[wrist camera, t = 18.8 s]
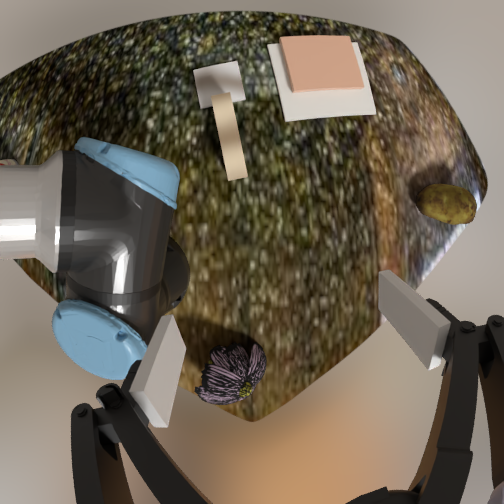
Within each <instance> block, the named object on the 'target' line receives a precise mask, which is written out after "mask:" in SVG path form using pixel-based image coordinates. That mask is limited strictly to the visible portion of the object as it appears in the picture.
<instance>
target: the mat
mask: <svg viewBox="0 0 504 504" xmlns="http://www.w3.org/2000/svg"><path fill="white" fill-rule="evenodd" d="M351 43H352V46H353V49H354V52H355V55H356V58H357V62H358V65H359V69H360V72H361V76H362V80H363V83H364V88H362V89H344V90H322V91H308V92H297V93H292V89H291V85H290V81H289V77H288V73H287V69H286V65H285V61H284V57H283V54H282V50H281V46H280V43H279V44H268V45H267V47H268V51H269V55H270V59H271V63H272V67H273V71H274V75H275V79H276V83H277V87H278V92H279V96H280V100H281V105H282V110H283V114H284V119H285V122H288V121H295V120H304V119H313V118H323V117H335V116H350V115H375V114H376V110H375V105H374V101H373V97H372V92H371V88H370V84H369V81H368V77H367V73H366V70H365V66H364V63H363V59H362V56H361V53H360V50H359V47H358V44H357V43H355V42H351Z"/></svg>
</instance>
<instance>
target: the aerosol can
mask: <svg viewBox="0 0 504 504" xmlns="http://www.w3.org/2000/svg"><path fill="white" fill-rule="evenodd" d="M0 165H19V164H18V162H17V161H16V160H14V159H7V160H0Z"/></svg>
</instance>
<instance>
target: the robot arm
mask: <svg viewBox="0 0 504 504" xmlns="http://www.w3.org/2000/svg"><path fill="white" fill-rule="evenodd" d="M74 149H75V151H63V150H58V151H57V152H56V153H54V154H53V155H52V156H51V157H50V158H49V159H48V160H47V161H46V162H44V163H43V164H41V165H0V260H2V259H19V258H37V259H38V260H40V261H41V262H42V263H43V264H44V265H45V266H46V267H47V268H48V269H49V270H50V271H51V272H52V273H56V272H66V299H65V300H64V301H62V302H61V303H59V304H58V306H57V307H56V311H55V312H54V314H53V317H52V328H53V332H54V335H55V338H56V340H57V342H58V343H59V345H60V347H61V348H62V349H63V351H64V352H65V353H66V354H67V355H68V356H69V357H70V358H71V359H72V360H73V361H74V362H75V363H76V364H78V365H79V366H80V367H82V368H83V369H85V370H86V371H88V372H90V373H92V374H94V375H97V376H99V377H102V378H106V379H111V380H121V379H124V378H126V379H125V380H124V382H123V384H122V387H121V389H120V387H119V386H118V385H117V384H114V383H109V384H106V385H104V386H102V387H101V388H100V389H99V390H98V391H97V393H96V399H97V400H98V401H99V403H100V404H101V405H102V407H101V408H97V409H93V408H92V407H91V406H90V405H89V404H87V403H82V404H79V405H77V406H76V407H75V408H74V409H73V411H72V414H71V449H72V450H71V452H72V469H73V479H74V488H75V496H76V503H77V504H134V502H133V499H132V496H131V493H130V489H129V486H128V482H127V478H126V475H125V471H124V467H123V462H122V458H121V453H120V449H119V444H118V443H119V442H121V443H122V445H123V447H124V448H125V450H126V452H127V454H128V455H129V457H130V459H131V461H132V462H133V464H134V466H135V467H136V469H137V470H138V472H139V474H140V475H141V476H142V478H143V480H144V481H145V482H146V484H147V486H148V487H149V489H150V490H151V491H152V493H153V494H154V496H155V497H156V498H157V500H158V501H159V502H160V504H213V503H211V501H210V500H208V498H207V497H206V496H205V495H204V494H203V493H201V491H200V490H199V489H198V488H197V487H196V486H195V485H194V484H193V483H192V482H191V480H190V479H189V478H188V477H187V476H186V475H185V474H184V473H183V472H182V470H181V469H180V468H179V467H178V465H177V464H176V463H175V462H174V461H173V459H172V458H171V457H170V456H169V455H168V453H167V452H166V451H165V449H164V448H163V447H162V445H161V444H160V443H159V441H158V440H157V439H156V437H155V436H154V435H153V433H152V432H151V430H150V429H149V428H148V423H149V421H150V422H151V424H152V425H153V426H154V427H168V424H169V419H170V415H171V411H172V406H173V402H174V397H175V393H176V389H177V385H178V381H179V376H180V372H181V368H182V364H183V360H184V356H185V352H186V347H185V344H184V342H183V339H182V337H181V334H180V332H179V329H178V327H177V324H176V321H175V319H174V316H173V314H172V315H166V316H164V314H166V313H168V312H169V311H171V310H172V309H174V308H175V307H176V306H177V305H178V304H179V303H180V302H181V301H182V299H183V298H184V296H185V294H186V291H187V289H188V286H189V281H190V269H189V264H188V261H187V258H186V256H185V254H184V252H183V251H182V249H181V248H180V247H179V246H178V244H177V243H176V242H175V241H173V240H172V239H171V238H170V237H169V234H170V228H171V223H172V218H173V213H174V209H176V208H177V204H176V197H177V191H178V185H179V179H180V178H179V171H178V169H177V168H176V166H175V165H174V164H173V163H171V162H170V161H167V160H165V159H162V158H159V157H156V156H153V155H150V154H147V153H143V152H140V151H137V150H133V149H130V148H126V147H123V146H119V145H115V144H110V143H107V142H103V141H99V140H96V139H91V138H87V137H81V138H80V139H79V140H78V142H77V143H76V144H75V147H74ZM378 309H379V310H380V311H381V313H382V314H383V315H384V316H385V317H386V318H387V320H388V321H389V322H390V323H391V324H392V326H393V327H394V328H395V329H396V330H397V332H398V333H399V334H400V335H401V336H402V338H403V339H404V340H405V341H406V343H407V344H408V345H409V346H410V348H411V349H412V350H413V351H414V352H415V354H416V355H417V356H418V358H419V359H420V360H421V362H422V363H423V364H424V365H425V367H426V368H427V369H428V370H431V369H433V368H435V367H437V366H439V365H440V363H441V359H442V357H443V358H444V359H445V360H446V364H445V366H444V369H443V372H442V376H443V380H442V385H441V390H440V395H439V400H438V405H437V409H436V413H435V418H434V421H433V425H432V428H431V432H430V436H429V439H428V442H427V445H426V448H425V452H424V454H423V457H422V460H421V463H420V466H419V468H418V471H417V473H416V476H415V478H414V480H413V481H412V483H411V485H410V487H409V489H408V491H407V490H389V491H388V490H387V487H383V488H381V489H378V490H375V491H373V492H370V493H367V494H364V495H361V496H359V497H357V498H355V499H353V500H351V501H350V502H348V503H346V504H460V501H461V498H462V495H463V492H464V489H465V485H466V482H467V478H468V474H469V471H470V466H471V462H472V457H473V452H472V451H470V444H471V438H472V433H473V427H474V419H475V411H476V403H477V390H478V374H479V377H480V382H481V386H482V391H483V396H484V402H485V407H486V413H487V420H488V427H489V435H490V446H491V465H492V480H493V486H494V491H493V492H492V494H491V497H490V500H489V501H488V504H504V318H503V317H502V316H499V315H492V316H490V317H489V318H488V320H487V324H486V325H482V326H476V325H475V324H474V323H472V322H469V321H461V322H460V321H459V320H458V319H456V317H454V316H453V315H452V314H451V313H450V312H449V311H447V310H446V309H445V308H444V307H442V305H440V304H439V303H438V302H437V301H435V300H432V299H430V298H429V299H426V300H425V299H424V298H423V297H421V296H420V295H419V294H418V293H417V292H416V291H414V290H413V289H412V288H411V287H410V286H409V285H407V284H406V283H405V282H404V281H402V280H401V279H400V278H399V277H398V276H396V275H395V274H394V273H393V272H391V271H390V270H385V271H381V272H379V304H378Z"/></svg>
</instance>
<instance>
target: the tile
mask: <svg viewBox="0 0 504 504" xmlns="http://www.w3.org/2000/svg"><path fill="white" fill-rule="evenodd" d="M279 43H280V46H281V50H282V54H283V57H284V61H285V65H286V69H287V73H288V77H289V81H290V85H291V89H292V93H297V92H308V91H322V90H344V89H362V88H364V83H363V80H362V76H361V72H360V69H359V65H358V62H357V58H356V55H355V52H354V49H353V46H352V43H351V40H350V37H349V36H326V35H314V36H288V37H280V39H279Z"/></svg>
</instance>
